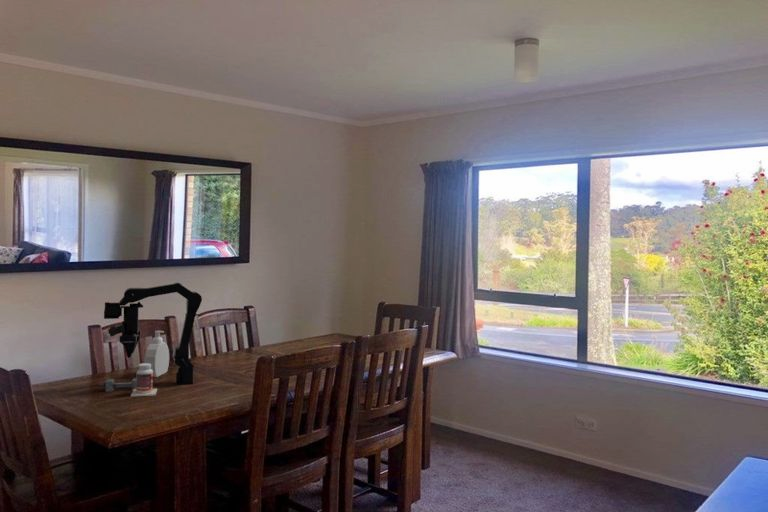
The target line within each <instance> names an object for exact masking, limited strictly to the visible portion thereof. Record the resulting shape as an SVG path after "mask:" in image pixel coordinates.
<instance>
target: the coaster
mask: <svg viewBox="0 0 768 512" xmlns="http://www.w3.org/2000/svg"><path fill="white" fill-rule="evenodd" d="M157 391H158V388H153V390H152V392H149V393H138V392H136V389H134V390H133V391H132V393H131V394H130V397H132V398H133V397H134V398H135V397H151V396H152V397H153V396H156V395H157Z"/></svg>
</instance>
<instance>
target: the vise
mask: <svg viewBox="0 0 768 512" xmlns="http://www.w3.org/2000/svg"><path fill="white" fill-rule="evenodd" d="M98 388H105V392H106V393H107V392H108V393H109V392H113V391H114V389H117V388H119V389H120V388H131V391H132V392H133V390H134V389H136V377H133V379H132V380H131V382H115V378H108V379H107V380H106V381H105V382H99V383H98Z"/></svg>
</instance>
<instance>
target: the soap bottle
mask: <svg viewBox="0 0 768 512" xmlns="http://www.w3.org/2000/svg"><path fill="white" fill-rule="evenodd" d="M164 333H165V331H164V330H154V337H153V338H152V340H151V343H149V344H148V346H147V348H146V351H145V354H144V362H143V363H149V364H151V368H150V369H152V370H153V378H159V377H160V376H162V375H164V374H165V373H167V372H168V370H169V364H170V350H169V346H168V345H167V343H166V342H165V341H164V340H163V338H162V337H161V334H164Z"/></svg>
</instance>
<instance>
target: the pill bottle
mask: <svg viewBox="0 0 768 512" xmlns="http://www.w3.org/2000/svg"><path fill="white" fill-rule="evenodd" d="M150 368H151V364H149V363H144V362H142V363H140V364H138V369H137V371H136V376H135V378H136V392H138V393H149V392H152V390H153V389H154V381H153V380H154V377H153V370H152V369H150Z"/></svg>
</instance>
